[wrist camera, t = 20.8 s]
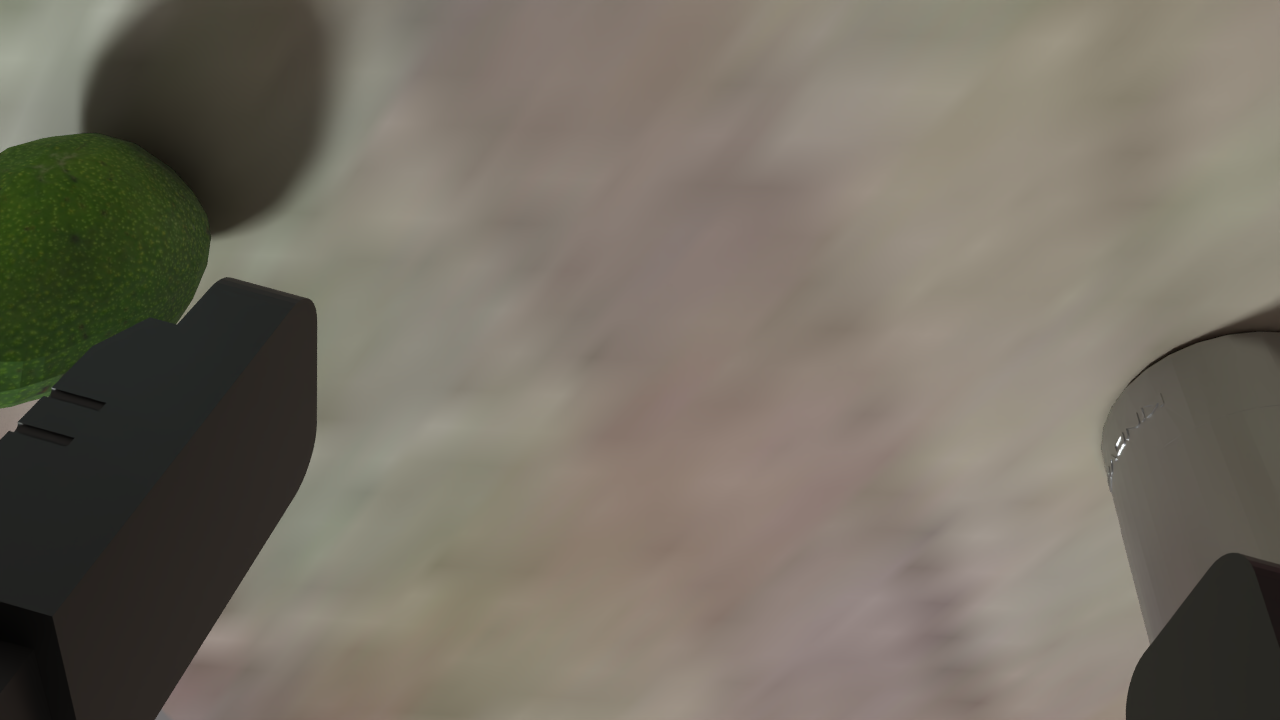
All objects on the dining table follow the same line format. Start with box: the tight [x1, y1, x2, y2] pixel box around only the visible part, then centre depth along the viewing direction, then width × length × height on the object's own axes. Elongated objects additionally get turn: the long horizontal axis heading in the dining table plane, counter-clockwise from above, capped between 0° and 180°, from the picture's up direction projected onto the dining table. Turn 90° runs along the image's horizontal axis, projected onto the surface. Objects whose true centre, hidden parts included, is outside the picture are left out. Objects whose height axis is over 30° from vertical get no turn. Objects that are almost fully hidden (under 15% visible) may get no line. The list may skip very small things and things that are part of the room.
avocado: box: [0, 133, 211, 408], centre depth 37 cm, size 8×8×12 cm
